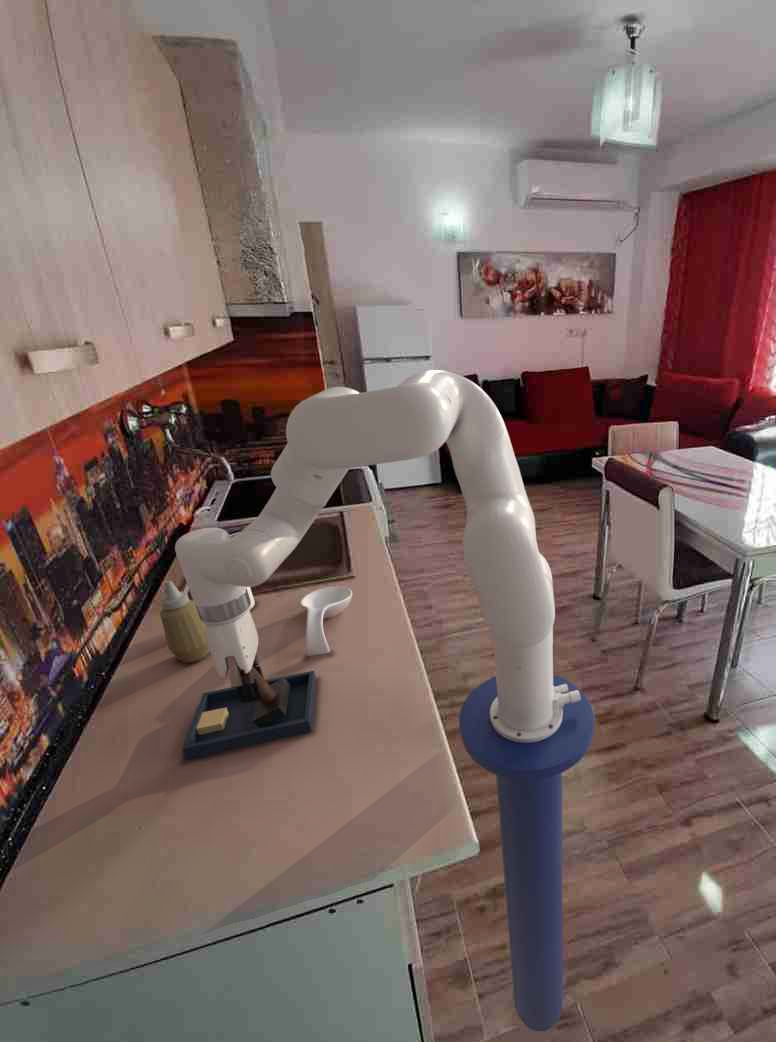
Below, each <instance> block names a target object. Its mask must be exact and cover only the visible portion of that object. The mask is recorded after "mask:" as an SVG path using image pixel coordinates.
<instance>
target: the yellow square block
mask: <svg viewBox="0 0 776 1042" xmlns="http://www.w3.org/2000/svg"><path fill="white" fill-rule="evenodd" d="M228 714H229V713H228V711H227V708H221V709H216V710H212V711H207V712H202V714H201V717H200V720H199V723H198V725H197V728H196V730H197V732H198V734H199V735H202V734H206V733H211V732H215V731H220V730H224V727H225V724H226V721H227V717H228Z"/></svg>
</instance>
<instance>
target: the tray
mask: <svg viewBox="0 0 776 1042" xmlns="http://www.w3.org/2000/svg"><path fill="white" fill-rule="evenodd" d="M283 678H285V679H286V680H287V682H288V683H289V684H290V690H289V696H288V702H287V708H286V715H285V716H283V717H281V718H279V719H277V720H274V721H272V722H270V723H268V724H266V725H264V726H262V727H260V728H258V727H257V726H256V725H255V724H254V723H253V722H252V719H253V715H254V710H255V706H256V702H257V700H256V701H251V702H246V703H242V702H241V699H240V696H239V693H238V691H237V688H232V687H231V686H230V687H226V688H221V689H217V690H212V691H208V692H207V691H206V692H203V693H202V695H201V698H200V701H199V703H198V706H197V709H196V711H195V714H194V717H193V719H192V721H191V725H190V727H189V730H188V732H187V734H186V737H185V740H184V743H183V744H182V748H181V749H182V753H183V755H184V758H185V760H186V761H189V760H194V759H197V758H203V757H207V756H211V755H215V754H220V753H225V752H229V751H233V750H238V749H241V748H247V747H251V746H255V745H259V744H260V745H261V744H264V743H267V742H268V743H269V742H272V741H277V740H281V739H285V738H290V737H294V736H295V737H296V736H300V735H303V734H308V733H312V731H313V722H314V721H313V720H314V711H315V703H316V702H315V700H316V690H317V677H316V673H315V670H310V671H305V672H299V673H296V674H290V675H284V676H280V677H274V678H271V679H264V680H265V681H266V682H267V683H268V684H269V685H271V684H273V683H275V682H277V681H279V680H281V679H283ZM221 708H227V711H228V713H229V714H228V717H227V721H226V724H225V727H224V730H220V731H215V732H211V733H206V734H202V735H199V734H198V732H197V730H196V728H197V725H198V723H199V720H200V717H201V714H202V712H207V711H212V710H216V709H221Z"/></svg>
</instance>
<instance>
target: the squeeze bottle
mask: <svg viewBox="0 0 776 1042" xmlns="http://www.w3.org/2000/svg"><path fill="white" fill-rule="evenodd" d="M164 590H165V591H164V592H165V596H164V597H162V598H161V599H160V604H161V606H162V609H161V611H160V612H159V616H160V619H161V624H162V627H163V631H164V635H165V638H166V643H167V646H168V647H167V648H168V650H169V651H170V652H171V653H172V654H173V655H174V656H175V657H176V658H177V659H178V660H179V661H181V662H182V663H194V662H197V661H200V660H202V659H205V658H206V657H207V656H208V655H209V654H210V653H211V652H210V649H209V645H208V641H207V636H206V629H205V624H204V623H202V622H201V620H200V617H199V614H198V612H197V609H196V606H195V604H194V601H193V599H190V598H189V595H188V593H187V592H185V591H179V589H178V588H177V587H176V585H175V583H174V582H173V581H172V580H171V579H170V580H165V581H164Z"/></svg>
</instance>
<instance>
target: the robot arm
mask: <svg viewBox="0 0 776 1042" xmlns="http://www.w3.org/2000/svg"><path fill="white" fill-rule="evenodd" d="M285 430H286V431H285V437H286V441H287V443H286V445H285V447H284V448H283V450H282V451H281V453H280V454H279V456H278V458H277V459H276V461H275V462H274V464H273V466H272V468H271V470H270V477H271V480H272V484H273V485H274V486H275V487H276V488H275V489H274V491H273V493H272V495H271V496H270V498H269V499H268V500H267V503H266V504H265V506H264V508H262V510H261V512H260V513H259V515H258V516H257V517H256V518H255V519H254V520H253V521H252V522H250V523H249V524H248V525H247V526H245V527H244V528H243V529H242V530H241V531H240V532H239V533H237V534H235V535H234V536H232V537H231V535H230V534H229V532H228V531H226V530H225V529H223V528H221V527H204V528H199V529H196V530H195V529H194V530H191V531H189V532H187V533H185V534H183V535H181V536H180V537H179V538H178V539H177V540H176V542H175V545H174V551H175V554H176V557H177V560H178V562H179V563H178V564H179V566H180V568H181V571H182V574H183V577H184V579H185V582H186V584H187V587H188V590H189V593H190V595H191V599H192V600H193V601H194V604H195V606H196V609H197V612H198V614H199V617H200V620H201V622H202V623H204V624H205V629H206V636H207V641H208V645H209V649H210V652H209V653H210V656H211V659H212V662H213V666H214V669H215V673H216V675H217V677H218V678H219V679H221V680H223V679H225V678H227V675H228V674H229V679H230V688H231V687H232V688H237V691H238V693H239V696H240V699H241V702H242V703H246V702H251V701H256V700H260V699H261V698H262V694H261V691H260V688H259V685H258V682H257V679H254V677H253V674H252V671H251V668H252V666H253V667H254V668H255V669H256V670H257V671H258V673H259V674H260V675H261V676H262V677H263V678H264V679H265V677H264V674H263V671H262V668H261V666H260V661H259V657H258V655H257V650H258V647H259V635H258V631H257V628H256V625H255V621H254V619H253V615H252V613H251V610H252V609H251V607H252V604H251V601H250V598H249V595H248V591H247V588H246V587H250V588H253V587H257V586H259V585H262V584H263V583H265V582H266V581H267V580H268V579H269V578H270V577H271V576H272V575H273V574H274V572H276V571H277V569H278V568H279V567H280V565H282V563H283V562H284V561H285V560H286V559H287V558H288V557H289V556H290V555H291V554H292V552H293V551H294V550H295V549H296V548H297V546H298V545H299V544H300V542H301V541H302V539H303V538H304V536H305V534H306V533H307V532H308V531H309V529H310V527H311V526H312V525H313V523H314V522H315V520H316V519H317V518H318V515H319V513H321V511H322V510H323V508H324V507H326V505H327V503H328V502H329V500H330V498H331V497H332V496H333V494H334V492H335V491H336V489H338V486H339V485H340V483H341V482H342V481H343V479H344V478H345V476H346V474H347V473H348V471H349V470H350V469H352V468H353V469H354V468H359V467H368V466H374V465H381V464H388V463H395V462H401V461H402V462H403V461H409V460H413V459H418V458H423V457H425V456H428V455H431V454H432V453H434V452H436V451H437V450H438V449H440V448H441V447H442V446H443V445H444V443H446V446H447V448H448V450H449V454H450V457H451V462H452V467H453V470H454V473H455V476H456V479H457V481H458V484H459V486H460V490H461V493H462V497H463V500H464V504H465V508H466V522H465V525H464V529H463V535H462V553H463V554H462V555H463V558H464V563H465V566H466V569H467V573H468V576H469V580H470V581H471V584H472V588H473V590H474V593H475V595H476V599H477V602H478V605H479V607H480V610H481V613H482V616H483V619H484V621H485V623H486V626H487V628H488V629H489V631H490V633H491V634H492V637H493V638H492V639H493V651H494V652H493V653H494V654H493V655H494V669H495V676H496V682H497V697H496V698H495V700H494V701H493V703H492V705H491V707H490V720H491V723H492V725H493V727H494V729H495V730H496V731H497V732H498V733H499V734H500V735H501V736H503V737H505V738H507V739H509V740H512V741H515V742H521V743H531V742H537V741H540V740H543V739H546V738H547V737H549V736H551V735H552V734H553V733H555V732H556V731H557V729H558V728H559V727H560V724H561V722H562V718H563V710H562V707H564V704H568V703H575V702H579V701H581V697H580V693H579V691H578V690H575V691H571V692H568V686H567V684H563V685H559V686H556V687H554V686H553V674H554V650H553V649H554V623H555V619H556V606H555V605H556V604H555V596H554V582H553V574H552V569H551V567H550V565H549V562H548V561H547V559H546V558H545V557H544V555H543V554H541V552H540V551H539V547H538V542H537V532H536V529H537V528H536V519H535V514H534V511H533V509H532V506H531V503H530V501H529V498H528V495H527V492H526V488H525V485H524V481H523V477H522V474H521V470H520V466H519V464H518V461H517V458H516V456H515V455H516V454H515V452H514V448H513V445H512V442H511V438H510V434H509V432H508V429H507V427H506V424H505V421H504V419H503V417H502V415H501V413H500V411H499V409H498V407H497V405H496V403H494V401H493V400H492V398H491V397H490V396H489V394H487V392H485V390H483V389H482V388H481V386H479V385H478V384H476V383H475V382H473V380H470V379H469V378H466V377H465V376H462V375H459V374H458V373H455V372H450V371H446V370H440V369H429V370H422V371H419V372H416V373H414V374H412V375H410V376H409V377H407V378H406V379H404V380H403V381H401V382H400V383H399V384H398V385H395V386H391V387H386V388H380V389H373V390H368V391H363V392H360V391H357V390H355V389H353V388H350V387H348V386H347V387H346V386H333V387H328V388H326V389H324V390H322V391H320V392H318V393H316V394H313V395H311V396H309V397H307V398H306V399H303V400H302V401H300V402H299V403H297V404H296V406H295V407H294V408H293V409H292V410H291V412H290V414H289V416H288V418H287V422H286V427H285ZM241 673H246V674H247V676H242V677H241V676H240V674H241ZM564 692H568V693H566V694H561V693H564Z"/></svg>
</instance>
